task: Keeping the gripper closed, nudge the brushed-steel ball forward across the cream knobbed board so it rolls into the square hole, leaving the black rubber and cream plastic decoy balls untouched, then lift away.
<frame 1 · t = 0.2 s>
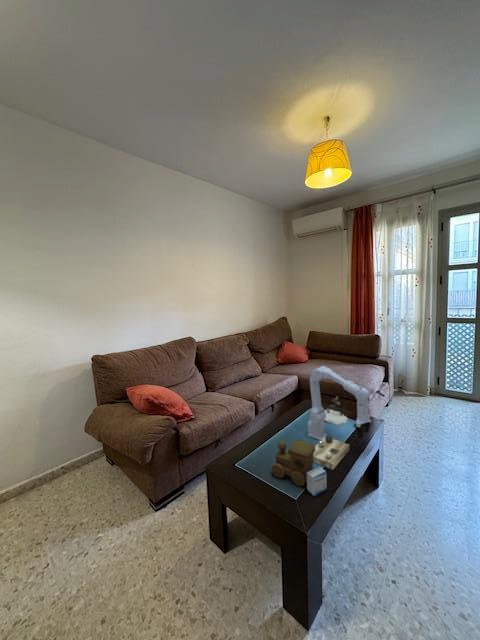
hand: (363, 434, 139), 10 cm above the table, fingers open, 7 cm apart
wooden toy train: (293, 476, 124), on the table
cream plastic ball: (328, 454, 132), point 4 cm above the table, touching cream knobbed board
figurine: (332, 418, 181), on the table
steel ball: (320, 443, 143), point 5 cm above the table, touching cream knobbed board
cream knobbed board: (328, 454, 140), on the table
medicine box: (317, 490, 115), on the table
black rubber ball: (328, 438, 147), point 5 cm above the table, touching cream knobbed board
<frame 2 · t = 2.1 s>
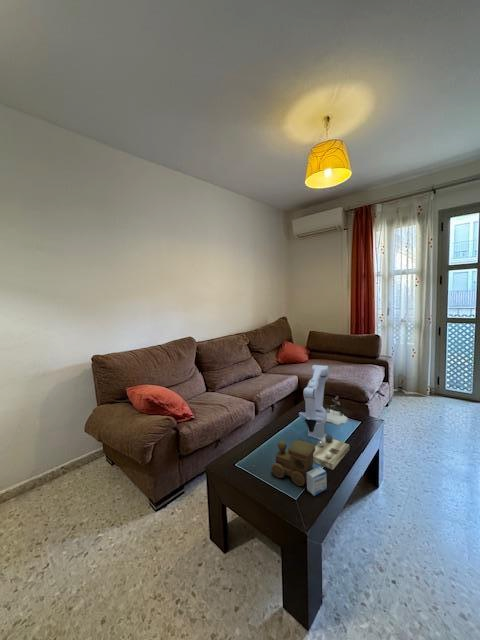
hand: (311, 431, 146), 10 cm above the table, fingers closed
nothing on the table moved.
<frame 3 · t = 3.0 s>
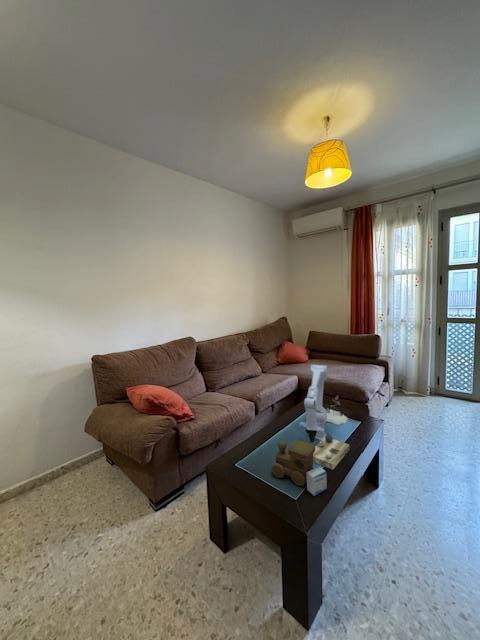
hand: (312, 441, 146), 4 cm above the table, fingers closed
nothing on the table moved.
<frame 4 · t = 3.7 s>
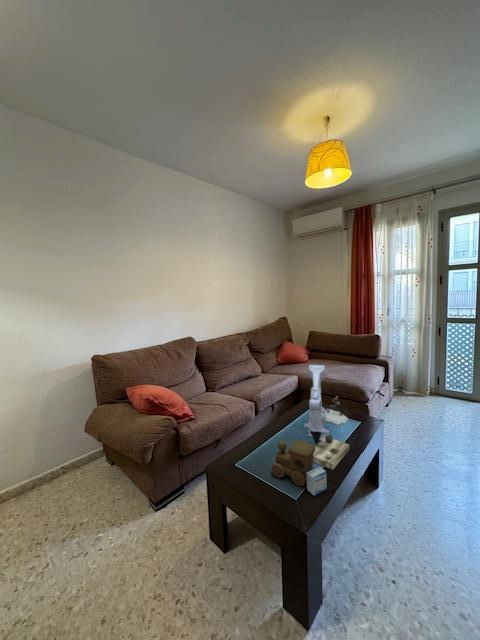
hand: (316, 443, 144), 4 cm above the table, fingers closed, pressing on steel ball
steel ball: (320, 443, 143), point 5 cm above the table, touching cream knobbed board, gripper
everything else where it was.
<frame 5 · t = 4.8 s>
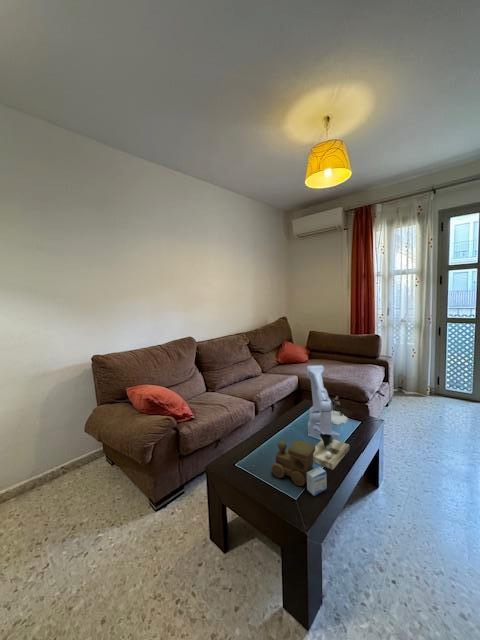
hand: (326, 446, 140), 4 cm above the table, fingers closed, pressing on steel ball
steel ball: (328, 446, 139), point 5 cm above the table, tilted 169°, touching cream knobbed board, gripper
everything else where it was.
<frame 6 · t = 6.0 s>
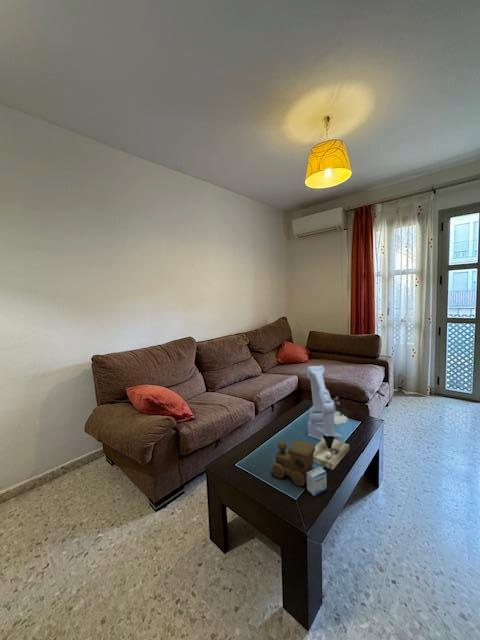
hand: (329, 447, 139), 4 cm above the table, fingers closed
steel ball: (333, 453, 138), point 2 cm above the table, tilted 18°
everything else where it was.
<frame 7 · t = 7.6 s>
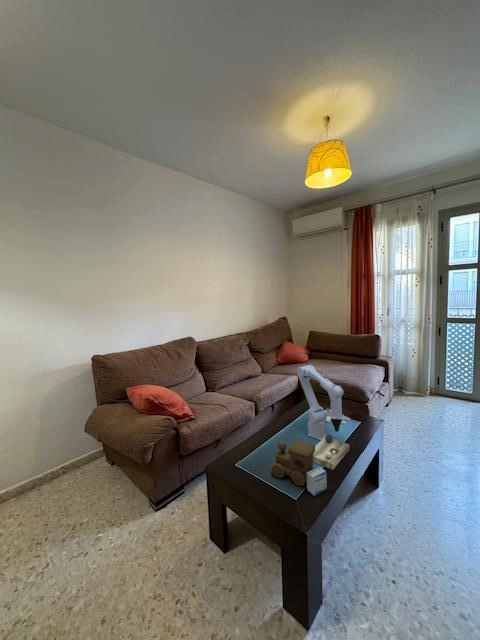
hand: (336, 430, 145), 10 cm above the table, fingers closed
steel ball: (334, 453, 138), point 2 cm above the table
everything else where it was.
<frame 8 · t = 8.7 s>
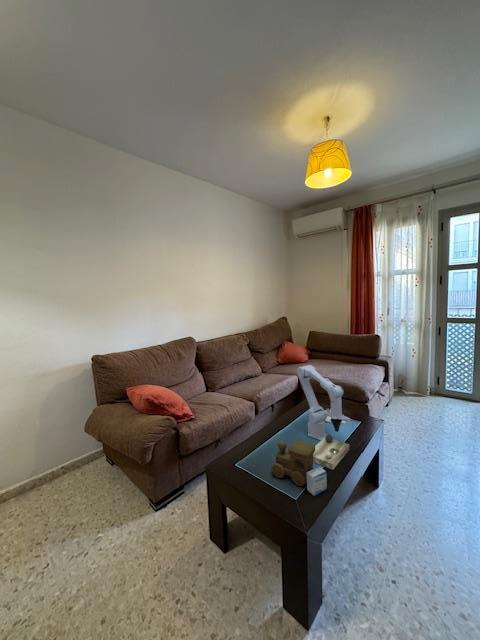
hand: (336, 430, 145), 10 cm above the table, fingers closed
steel ball: (334, 453, 138), point 2 cm above the table, tilted 15°
everything else where it was.
at the end: steel ball 0.4 cm from the target spot in the cream knobbed board, point 1.6 cm above the cream knobbed board's base; black rubber ball moved 0.1 cm from its start; cream plastic ball moved 0.1 cm from its start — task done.
